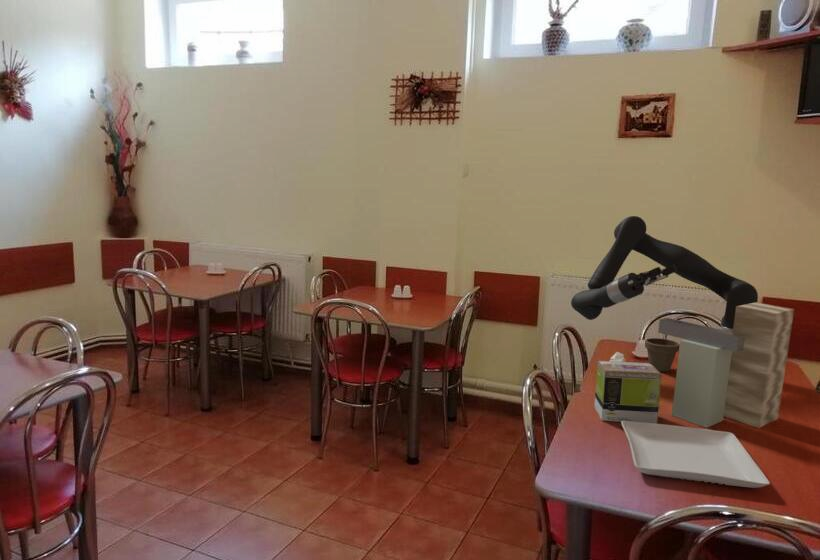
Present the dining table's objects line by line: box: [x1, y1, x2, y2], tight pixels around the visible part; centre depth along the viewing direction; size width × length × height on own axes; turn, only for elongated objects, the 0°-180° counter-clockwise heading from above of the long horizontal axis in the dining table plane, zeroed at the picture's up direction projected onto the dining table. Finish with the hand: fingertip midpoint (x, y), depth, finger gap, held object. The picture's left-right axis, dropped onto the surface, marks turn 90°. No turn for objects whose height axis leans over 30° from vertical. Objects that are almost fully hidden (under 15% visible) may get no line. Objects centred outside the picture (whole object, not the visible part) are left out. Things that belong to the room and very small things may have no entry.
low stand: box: [671, 339, 732, 429], centre depth 164 cm, size 9×10×22 cm
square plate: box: [620, 421, 771, 489], centre depth 139 cm, size 27×27×4 cm
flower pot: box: [644, 337, 680, 373], centre depth 209 cm, size 12×11×10 cm
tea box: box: [594, 360, 662, 424], centre depth 164 cm, size 15×10×15 cm
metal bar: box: [657, 317, 745, 352], centre depth 163 cm, size 4×22×4 cm, turn 37°
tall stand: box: [723, 302, 795, 429], centre depth 165 cm, size 12×10×32 cm
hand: (668, 268), depth 178 cm, fingers open, 8 cm apart
